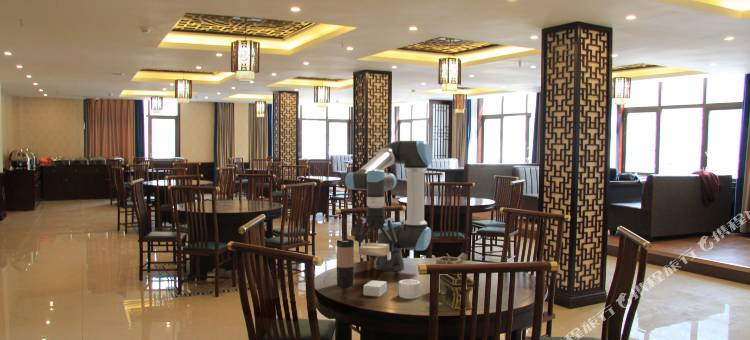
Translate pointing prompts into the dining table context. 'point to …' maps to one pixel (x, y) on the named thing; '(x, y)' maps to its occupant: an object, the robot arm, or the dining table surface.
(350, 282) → the travel mug
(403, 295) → the bowl
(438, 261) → the tankard
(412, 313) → the dining table surface
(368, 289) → the white rectangular block
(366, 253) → the lid
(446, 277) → the decorative box
